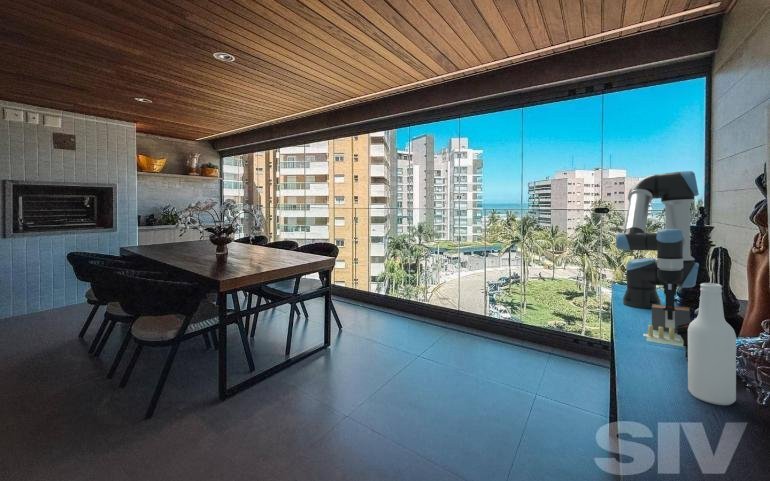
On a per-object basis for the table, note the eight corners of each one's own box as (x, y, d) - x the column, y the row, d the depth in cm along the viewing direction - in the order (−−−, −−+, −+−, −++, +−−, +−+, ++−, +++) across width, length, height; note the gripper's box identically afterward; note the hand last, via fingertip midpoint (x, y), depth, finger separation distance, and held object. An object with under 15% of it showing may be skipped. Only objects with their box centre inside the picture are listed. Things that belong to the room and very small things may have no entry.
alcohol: (724, 390, 87) (724, 281, 85) (744, 409, 79) (744, 288, 77) (682, 385, 90) (681, 280, 88) (696, 402, 82) (696, 287, 80)
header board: (645, 327, 134) (645, 315, 133) (689, 333, 125) (689, 320, 124) (642, 343, 119) (641, 329, 119) (691, 351, 110) (691, 336, 110)
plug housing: (652, 325, 132) (652, 303, 131) (689, 330, 124) (689, 307, 124) (652, 329, 128) (651, 306, 127) (690, 334, 121) (689, 310, 120)
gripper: (658, 263, 136) (659, 313, 138) (655, 273, 118) (656, 330, 119) (682, 264, 131) (683, 315, 132) (683, 274, 113) (684, 334, 114)
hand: (670, 322), depth 126 cm, fingers open, 13 cm apart
